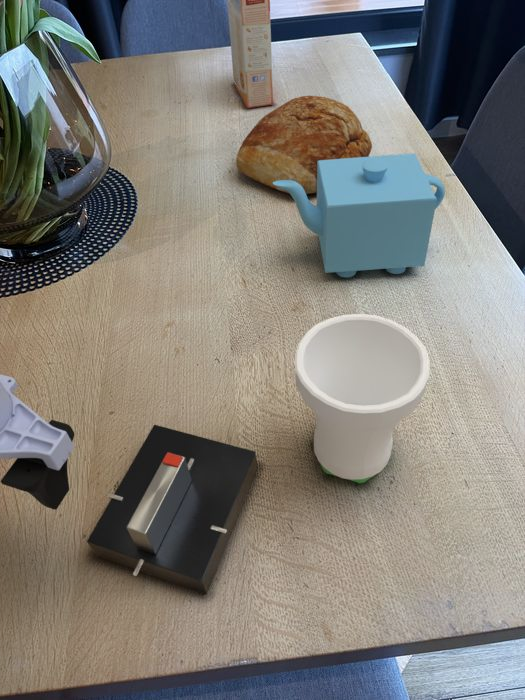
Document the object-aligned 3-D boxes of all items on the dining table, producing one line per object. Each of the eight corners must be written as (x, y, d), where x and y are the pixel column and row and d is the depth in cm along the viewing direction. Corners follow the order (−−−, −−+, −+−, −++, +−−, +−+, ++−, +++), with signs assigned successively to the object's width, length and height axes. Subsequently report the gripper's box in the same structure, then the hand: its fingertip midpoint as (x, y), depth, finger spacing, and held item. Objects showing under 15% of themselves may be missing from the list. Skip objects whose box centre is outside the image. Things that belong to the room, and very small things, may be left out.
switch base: (204, 611, 47) (198, 597, 45) (84, 568, 50) (73, 553, 48) (261, 468, 56) (259, 451, 54) (156, 440, 59) (150, 422, 57)
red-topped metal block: (155, 555, 47) (144, 532, 44) (136, 548, 48) (125, 526, 45) (192, 480, 52) (185, 455, 49) (174, 475, 52) (166, 450, 49)
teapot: (423, 226, 82) (439, 137, 72) (443, 274, 75) (463, 181, 65) (274, 237, 83) (270, 149, 73) (278, 286, 75) (274, 195, 65)
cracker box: (275, 105, 114) (270, -13, 99) (246, 110, 114) (237, -9, 98) (259, 80, 124) (253, -32, 109) (233, 84, 123) (223, -28, 108)
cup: (387, 401, 61) (404, 303, 50) (424, 491, 53) (453, 398, 43) (286, 418, 60) (282, 322, 50) (309, 512, 52) (309, 423, 42)
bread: (374, 161, 96) (380, 102, 89) (318, 211, 87) (319, 150, 79) (277, 134, 105) (275, 79, 98) (216, 177, 96) (209, 120, 88)
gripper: (71, 355, 36) (121, 467, 46) (-101, 313, 40) (-21, 425, 50) (3, 442, 32) (75, 546, 41) (-184, 386, 36) (-77, 493, 45)
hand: (19, 485), depth 45 cm, fingers open, 7 cm apart
